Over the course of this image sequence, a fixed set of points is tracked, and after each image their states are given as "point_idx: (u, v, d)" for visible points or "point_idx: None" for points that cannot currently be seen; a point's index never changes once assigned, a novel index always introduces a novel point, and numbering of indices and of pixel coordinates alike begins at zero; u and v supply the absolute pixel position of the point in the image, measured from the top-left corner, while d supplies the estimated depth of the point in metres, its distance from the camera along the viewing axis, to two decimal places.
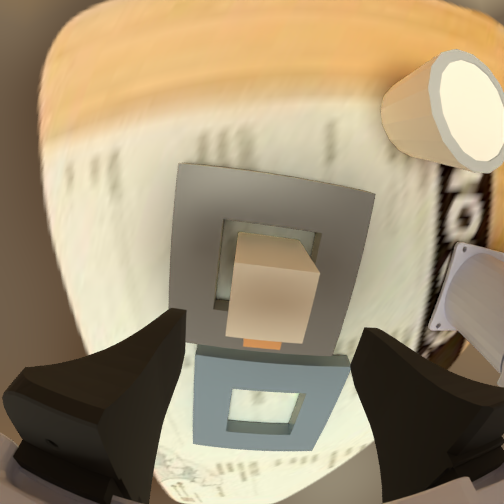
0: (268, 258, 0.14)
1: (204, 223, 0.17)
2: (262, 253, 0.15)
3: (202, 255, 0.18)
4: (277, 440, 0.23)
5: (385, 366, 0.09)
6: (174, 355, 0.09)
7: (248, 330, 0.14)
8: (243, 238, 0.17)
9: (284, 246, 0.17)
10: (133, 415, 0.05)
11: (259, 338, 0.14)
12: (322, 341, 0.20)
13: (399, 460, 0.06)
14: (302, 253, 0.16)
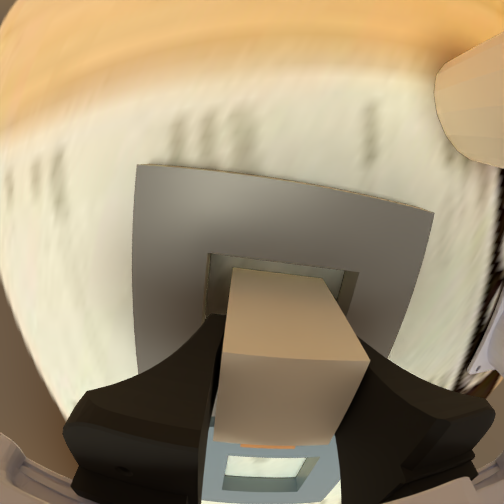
0: (283, 333, 0.08)
1: (179, 259, 0.11)
2: (270, 320, 0.09)
3: (178, 305, 0.11)
4: (282, 496, 0.17)
5: None
6: (219, 362, 0.09)
7: (249, 436, 0.08)
8: (240, 282, 0.11)
9: (304, 296, 0.11)
10: (205, 429, 0.05)
11: (265, 443, 0.08)
12: None
13: (356, 468, 0.06)
14: (333, 310, 0.10)
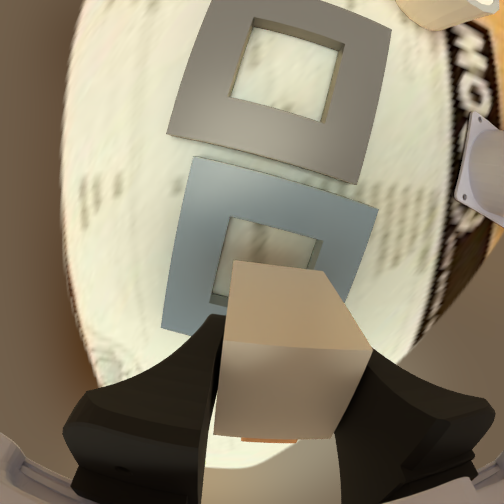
0: (285, 323, 0.08)
1: (235, 18, 0.14)
2: (272, 310, 0.09)
3: (228, 42, 0.14)
4: None
5: None
6: (219, 362, 0.09)
7: (250, 429, 0.08)
8: (241, 274, 0.11)
9: (305, 288, 0.11)
10: (205, 429, 0.05)
11: (266, 437, 0.08)
12: (346, 158, 0.16)
13: (356, 468, 0.06)
14: (334, 301, 0.10)
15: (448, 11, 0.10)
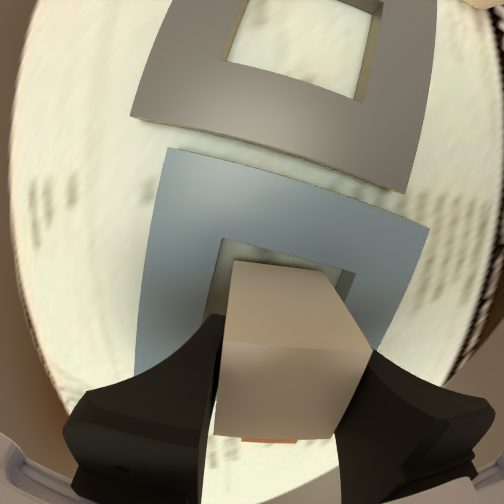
0: (285, 323, 0.08)
1: None
2: (272, 311, 0.09)
3: None
4: None
5: None
6: (219, 362, 0.09)
7: (250, 429, 0.08)
8: (241, 274, 0.11)
9: (305, 288, 0.11)
10: (205, 429, 0.05)
11: (266, 437, 0.08)
12: (392, 156, 0.11)
13: (356, 468, 0.06)
14: (334, 302, 0.10)
15: None
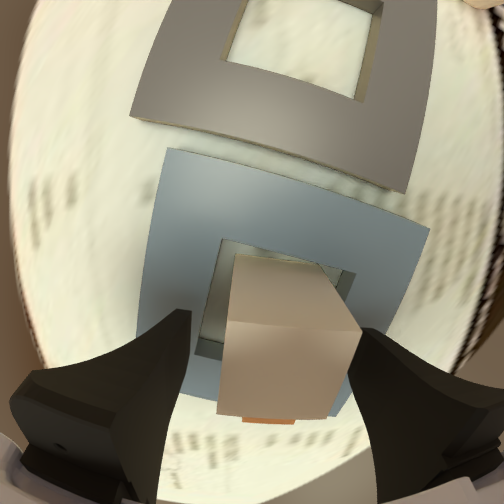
0: (282, 307, 0.09)
1: None
2: (271, 296, 0.10)
3: None
4: None
5: (380, 366, 0.09)
6: (180, 356, 0.09)
7: (250, 408, 0.09)
8: (242, 266, 0.12)
9: (301, 278, 0.12)
10: (142, 417, 0.05)
11: (265, 416, 0.09)
12: (392, 156, 0.11)
13: (394, 461, 0.06)
14: (328, 290, 0.11)
15: None
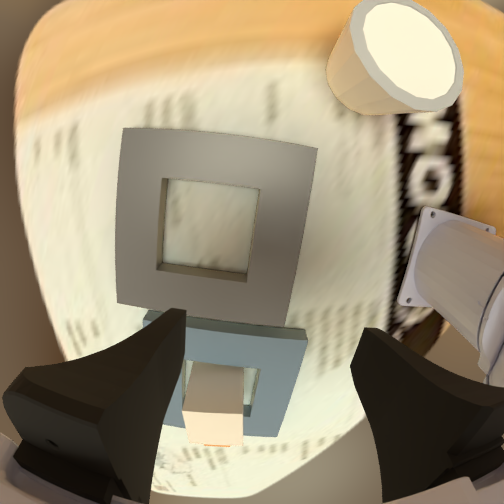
0: (208, 400, 0.18)
1: (145, 182, 0.17)
2: (204, 393, 0.18)
3: (144, 214, 0.17)
4: None
5: (385, 366, 0.09)
6: (174, 355, 0.09)
7: (203, 440, 0.18)
8: (195, 370, 0.21)
9: (226, 376, 0.20)
10: (133, 415, 0.05)
11: (212, 444, 0.18)
12: (271, 308, 0.19)
13: (399, 460, 0.06)
14: (238, 385, 0.20)
15: (389, 110, 0.13)
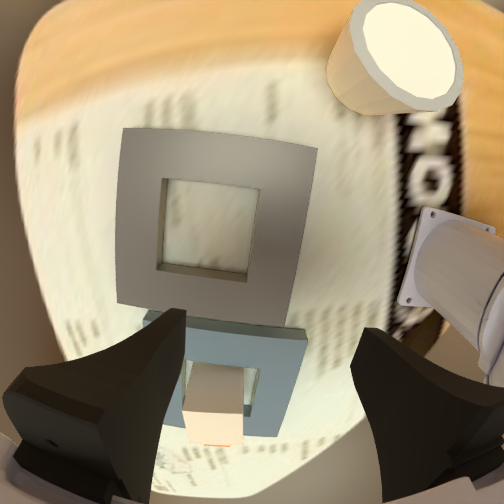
0: (208, 400, 0.18)
1: (145, 182, 0.17)
2: (204, 393, 0.18)
3: (144, 214, 0.17)
4: None
5: (385, 366, 0.09)
6: (174, 355, 0.09)
7: (204, 440, 0.18)
8: (195, 370, 0.21)
9: (226, 376, 0.20)
10: (133, 415, 0.05)
11: (212, 444, 0.18)
12: (271, 308, 0.19)
13: (399, 460, 0.06)
14: (238, 385, 0.20)
15: (389, 110, 0.13)
